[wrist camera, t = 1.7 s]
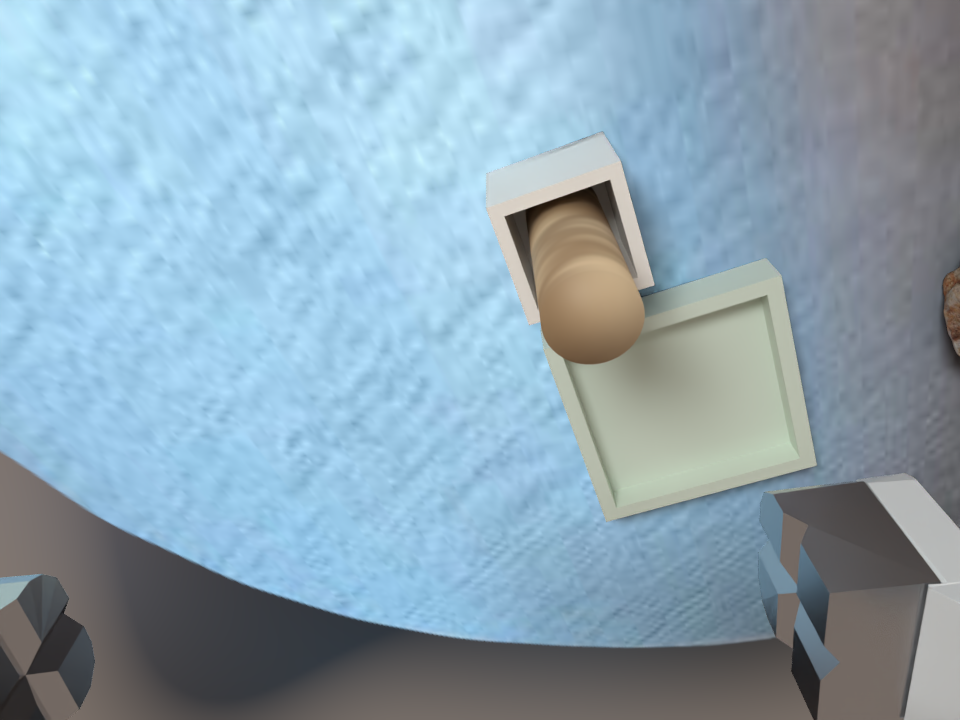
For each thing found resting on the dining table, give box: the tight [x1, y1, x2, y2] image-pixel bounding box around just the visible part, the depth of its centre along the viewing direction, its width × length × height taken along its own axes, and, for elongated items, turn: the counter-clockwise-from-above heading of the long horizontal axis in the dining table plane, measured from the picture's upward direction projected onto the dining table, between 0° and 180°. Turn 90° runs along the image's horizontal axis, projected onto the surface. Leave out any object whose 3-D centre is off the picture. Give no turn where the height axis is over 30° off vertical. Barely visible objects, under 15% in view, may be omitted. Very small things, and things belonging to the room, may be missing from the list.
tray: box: [541, 258, 817, 522], centre depth 41 cm, size 12×12×2 cm
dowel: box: [526, 186, 645, 365], centre depth 32 cm, size 4×4×12 cm
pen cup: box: [486, 132, 655, 325], centre depth 35 cm, size 6×6×6 cm
